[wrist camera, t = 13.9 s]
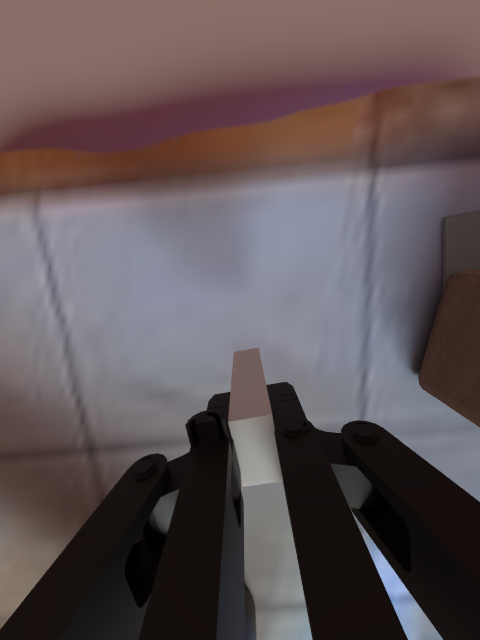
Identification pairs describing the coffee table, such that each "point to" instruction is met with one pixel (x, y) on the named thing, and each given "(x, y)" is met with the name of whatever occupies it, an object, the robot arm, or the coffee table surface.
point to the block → (456, 347)
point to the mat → (461, 244)
